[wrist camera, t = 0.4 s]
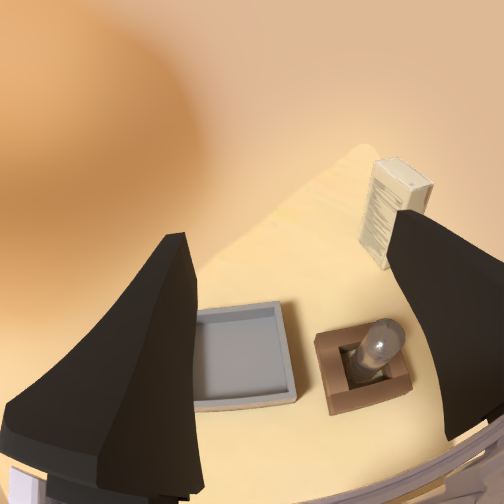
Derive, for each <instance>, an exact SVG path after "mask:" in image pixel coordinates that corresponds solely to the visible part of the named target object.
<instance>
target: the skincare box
mask: <svg viewBox="0 0 504 504" xmlns="http://www.w3.org/2000/svg"><path fill="white" fill-rule="evenodd" d="M433 185H434V183H432V182H431V181H430V180H429V179H428V178H426V177H425V176H424V175H423V174H421V173H420V172H418V171H417V170H416V169H414V168H413V167H412V166H410V165H409V164H408V163H406V162H405V161H403V160H402V159H400V158H399V157H395V158H389V159H384V160H378V161H374V164H373V170H372V175H371V180H370V185H369V190H368V195H367V199H366V204H365V209H364V213H363V217H362V221H361V226H360V230H359V234H358V238H357V240H358V242H359V243H360V244H361V245H362V247H363V248H364V249H365V250H366V251H367V252H368V253H369V255H370V256H371V257H372V258H373V259H374V260H375V261H376V263H377V264H378V265H379V266H380V267H381V268H382V269H383V270H385V269H387V268H389V267H390V265H389V262H388V260H387V257H386V253H387V250H388V246H389V242H390V238H391V235H392V231H393V226H394V222H395V218H396V214H397V210H409V209H411V210H413V211H416V212H418V213H420V214H422V215H423V214H424V212H425V209H426V206H427V203H428V200H429V197H430V195H431V191H432V188H433Z"/></svg>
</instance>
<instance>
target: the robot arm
mask: <svg viewBox="0 0 504 504" xmlns="http://www.w3.org/2000/svg"><path fill="white" fill-rule="evenodd" d="M386 257H387V260H388V262H389V265H390V267H391V270H392V272H393V274H394V277H395V279H396V281H397V283H398V285H399V286H400V288H401V290H402V292H403V294H404V295H405V297H406V299H407V301H408V303H409V304H410V306H411V308H412V310H413V312H414V314H415V316H416V318H417V319H418V321H419V323H420V325H421V327H422V330H423V332H424V334H425V336H426V339H427V342H428V345H429V348H430V351H431V354H432V357H433V360H434V364H435V368H436V371H437V375H438V379H439V385H440V390H441V395H442V402H443V411H444V424H445V434H446V437H447V440H448V441H451V440H452V439H454V438H456V437H458V436H459V435H461V434H463V433H464V432H466V431H468V430H469V429H471V428H473V427H474V426H476V425H477V424H479V423H480V422H482V421H484V420H485V419H487V421H488V424H489V425H488V426H486V427H485V428H483V429H482V430H480V431H479V432H477V433H476V434H474V435H472V436H471V437H469V438H468V439H466V440H464V441H463V442H461V443H460V444H458V445H456V446H454V447H452V448H451V449H449V450H447V451H445V452H443V453H442V454H440V455H438V456H436V457H434V458H432V459H430V460H428V461H426V462H424V463H422V464H419V465H417V466H415V467H413V468H411V469H408V470H406V471H404V472H401V473H399V474H396V475H394V476H391V477H389V478H386V479H384V480H381V481H378V482H375V483H372V484H369V485H366V486H363V487H360V488H357V489H354V490H350V491H347V492H343V493H339V494H336V495H332V496H328V497H323V498H319V499H314V500H309V501H304V502H299V503H293V504H383V503H385V502H388V501H391V500H393V499H395V498H398V497H400V496H403V495H405V494H407V493H409V492H412V491H414V490H416V489H418V488H420V487H422V486H424V485H426V484H428V483H430V482H432V481H434V480H436V479H438V478H440V477H442V476H443V475H445V474H447V473H449V472H450V471H452V470H454V469H455V468H456V469H455V470H454V471H452V472H451V473H450V474H449V475H447V476H446V477H445V478H444V485H442V486H440V487H438V488H435V489H433V490H431V491H429V492H427V493H425V494H422V495H420V496H418V497H416V498H413V499H411V500H408V501H406V502H403V503H401V504H504V263H503V262H502V261H500V260H498V259H496V258H494V257H492V256H491V255H489V254H487V253H486V252H484V251H482V250H481V249H479V248H478V247H476V246H474V245H473V244H471V243H469V242H468V241H466V240H464V239H463V238H461V237H460V236H458V235H456V234H454V233H453V232H452V231H450V230H448V229H447V228H445V227H443V226H442V225H440V224H438V223H437V222H435V221H433V220H432V219H430V218H428V217H426V216H424V215H422V214H420V213H418V212H416V211H413V210H411V209H409V210H397V214H396V218H395V222H394V226H393V231H392V235H391V238H390V242H389V246H388V250H387V253H386ZM197 309H198V297H197V278H196V274H195V270H194V267H193V263H192V259H191V255H190V251H189V247H188V243H187V240H186V235H185V232H182V233H175V234H167V235H165V237H164V238H163V239H162V241H161V242H160V243H159V245H158V246H157V248H156V249H155V250H154V252H153V253H152V255H151V256H150V257H149V259H148V260H147V261H146V263H145V264H144V265H143V267H142V268H141V270H140V271H139V272H138V274H137V275H136V276H135V278H134V279H133V281H132V282H131V283H130V285H129V286H128V287H127V288H126V289H125V291H124V292H123V293H122V295H121V296H120V297H119V299H118V300H117V301H116V302H115V304H114V305H113V306H112V307H111V308H110V309H109V311H108V312H107V313H106V314H105V315H104V317H103V318H102V319H101V320H100V321H99V322H98V323H97V324H96V325H95V326H94V328H93V329H92V330H91V331H90V332H89V333H88V334H87V335H86V336H85V337H84V338H83V339H82V340H81V341H80V342H79V343H78V344H77V345H76V346H75V347H74V348H73V349H72V350H71V351H70V352H69V353H68V354H67V355H66V356H65V357H64V358H63V359H61V360H60V361H59V362H58V363H57V364H56V365H55V366H54V367H53V368H51V369H50V370H49V371H48V372H47V373H46V374H44V375H43V376H42V377H41V378H40V379H38V380H37V381H36V382H35V383H33V384H32V385H31V386H29V387H28V388H27V389H25V390H24V391H23V392H21V394H19V395H18V396H16V397H15V398H14V399H12V400H11V401H9V402H8V403H7V404H6V406H5V411H4V415H3V420H2V425H1V431H0V453H2V454H4V455H6V456H8V457H10V458H12V459H15V460H17V461H19V462H21V463H23V464H26V465H28V466H30V467H33V468H35V469H38V470H40V471H43V472H45V473H48V474H47V480H45V479H43V478H40V477H38V476H35V475H33V474H31V473H28V472H26V471H23V470H21V469H19V468H16V467H14V466H11V467H10V478H9V500H8V504H179V502H178V501H190V494H198V493H199V492H200V491H201V490H202V489H203V488H204V487H205V485H204V480H203V474H202V469H201V463H200V456H199V449H198V441H197V433H196V423H195V411H194V397H193V357H194V344H195V332H196V321H197ZM483 450H485V453H484V454H483V455H482V456H479V457H477V458H475V459H473V460H472V461H470V462H467V461H468V460H470V459H471V458H473V457H474V456H476V455H477V454H479V453H480V452H482V451H483ZM465 462H467V463H465ZM464 463H465V464H464ZM462 464H463V465H462ZM460 465H462V466H460ZM459 466H460V467H459ZM457 467H458V468H457Z"/></svg>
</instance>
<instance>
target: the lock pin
mask: <svg viewBox="0 0 504 504" xmlns="http://www.w3.org/2000/svg"><path fill="white" fill-rule="evenodd" d="M404 342H405V333H404V330H403V328H402V327H401V325H400V324H399V323H397V322H396V321H394V320H392V319H387V318H385V319H380V320H378V321H376V322H375V323H374V324H373V325H372V327H371V329H370V330H369V332H368V333H367V335H366V336H365V338H364V339H363V341H362V342H361V344H360V345H359V347H358V348H357V350H356V351H355V353H354V354H353V356H352V357H351V359H350V360H349V362H348V363H347V365H346V374H347V376H348V378H349V379H350V380H351V381H353V382H355V383H359V384H360V383H365V382H367V381H369V380H370V379H371V378H372V377H373V376H374V375H375V374H376V373H377V372H378V371H379V370H380V369H381V368H382V367H383V366H384V365H385V364H386V363H387V362H388V361H389V360H390V359H391V358H392V357H393V356H394V355H395V354H396V353H397V352H398V351H399V350H400V349H401V348H402V347H403V345H404Z"/></svg>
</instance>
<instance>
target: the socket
mask: <svg viewBox="0 0 504 504" xmlns="http://www.w3.org/2000/svg"><path fill="white" fill-rule="evenodd" d="M374 323H375V322H373V323H369V324H364V325H359V326H355V327H350V328H345V329H340V330H334V331H329V332H323V333H318V334H316V337H315V340H314V345H315V349H316V353H317V358H318V362H319V367H320V371H321V376H322V380H323V385H324V390H325V395H326V399H327V404H328V409H329V414H330V416H332V415H337V414H341V413H345V412H349V411H353V410H357V409H360V408H364V407H367V406H371V405H374V404H377V403H381V402H384V401H387V400H390V399H393V398H396V397H399V396H402V395H405V394H406V393H408V392H409V391H411V390H413V387H412V384H411V381H410V377H409V374H408V371H407V368H406V365H405V362H404V359H403V356H402V353H401V350H399V351H398V352H397V353H396V354H395V355H394V356H393V357H392V358H391V359H390V360H389V361H388V362H387V363H386V364H385V365H384V366H383V367H382V368H381V370H382V373H383V377H384V380H385V381H382V382H378V383H375V384H371V385H368V386H364V387H360V388H356V389H353V390H349V387H348V383H347V379H346V375H345V371H344V367H343V363H342V359H341V355H340V353H342V352H347V351H352V350H356V349H357V348H358V347H359V345H360V344H361V342H362V341H363V339H364V338H365V336H366V335H367V333H368V332H369V330H370V329H371V327H372V325H373V324H374Z"/></svg>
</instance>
